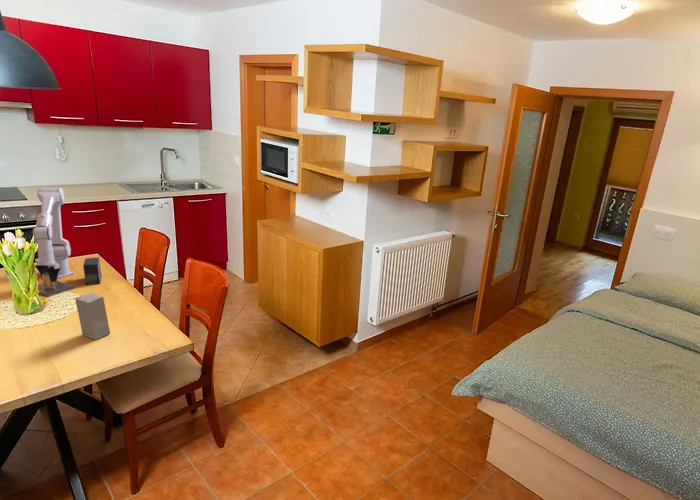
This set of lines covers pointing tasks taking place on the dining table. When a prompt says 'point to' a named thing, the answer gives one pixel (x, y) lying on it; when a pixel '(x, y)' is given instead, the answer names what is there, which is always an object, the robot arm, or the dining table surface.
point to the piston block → (54, 289)
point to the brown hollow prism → (48, 281)
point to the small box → (92, 271)
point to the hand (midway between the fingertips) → (49, 280)
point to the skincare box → (92, 315)
